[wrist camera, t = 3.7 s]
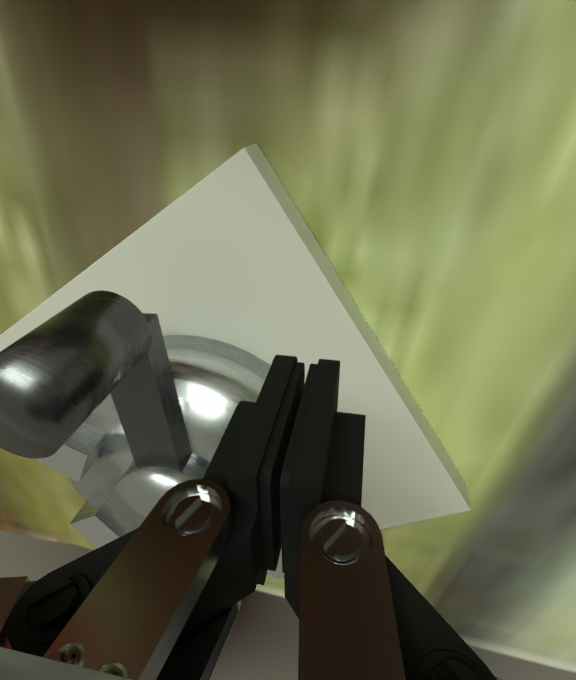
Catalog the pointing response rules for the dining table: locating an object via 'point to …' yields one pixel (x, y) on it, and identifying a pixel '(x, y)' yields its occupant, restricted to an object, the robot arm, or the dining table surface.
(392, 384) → the base plate
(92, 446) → the silver lever knob
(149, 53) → the dining table surface
